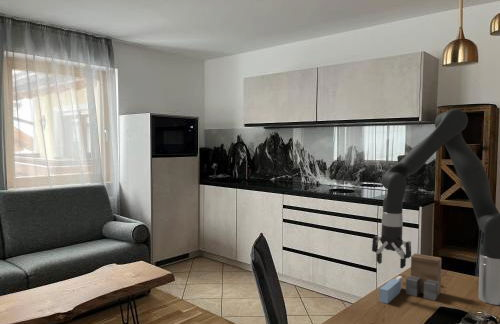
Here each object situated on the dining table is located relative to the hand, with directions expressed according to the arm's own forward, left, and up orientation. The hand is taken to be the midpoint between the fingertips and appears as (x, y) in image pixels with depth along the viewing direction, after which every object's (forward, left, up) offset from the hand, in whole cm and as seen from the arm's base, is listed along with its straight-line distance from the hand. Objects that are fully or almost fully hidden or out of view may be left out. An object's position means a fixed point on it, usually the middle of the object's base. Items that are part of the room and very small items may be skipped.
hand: (390, 265), depth 148 cm
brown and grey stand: (-9, -11, -12) cm, 19 cm away
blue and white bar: (0, -2, -12) cm, 12 cm away
